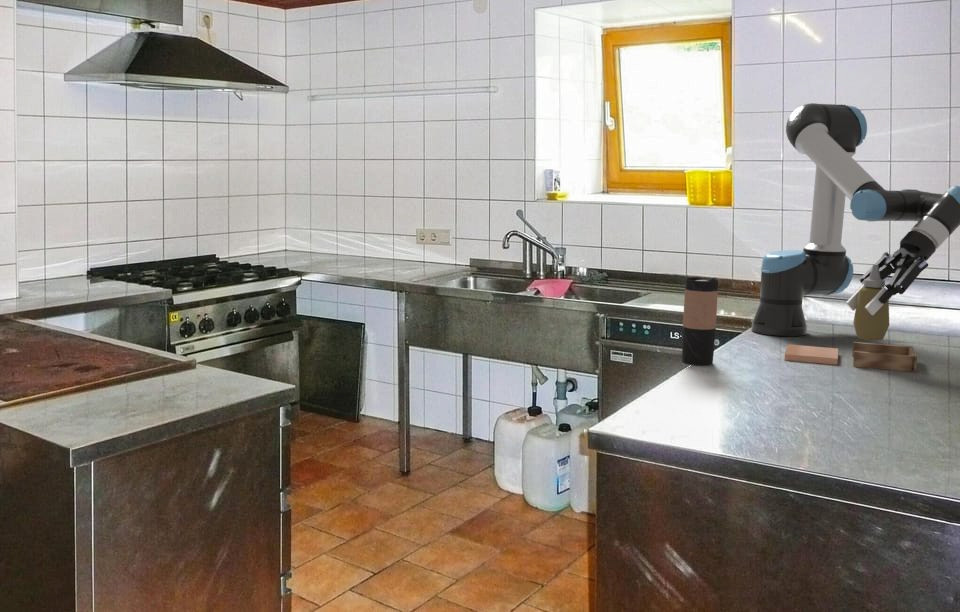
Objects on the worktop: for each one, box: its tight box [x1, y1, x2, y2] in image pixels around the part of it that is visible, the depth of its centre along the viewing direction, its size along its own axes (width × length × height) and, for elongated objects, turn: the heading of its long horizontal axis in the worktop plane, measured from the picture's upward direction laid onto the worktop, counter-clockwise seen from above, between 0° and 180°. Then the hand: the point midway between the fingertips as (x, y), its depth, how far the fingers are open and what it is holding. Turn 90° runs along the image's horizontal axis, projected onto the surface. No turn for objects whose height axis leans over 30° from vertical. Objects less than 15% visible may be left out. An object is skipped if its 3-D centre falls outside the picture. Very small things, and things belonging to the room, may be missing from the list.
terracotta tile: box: [784, 344, 839, 366], centre depth 223 cm, size 12×14×2 cm
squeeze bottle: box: [852, 263, 890, 342], centre depth 216 cm, size 8×8×18 cm
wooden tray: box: [852, 341, 918, 373], centre depth 217 cm, size 14×14×4 cm
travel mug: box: [681, 277, 719, 367], centre depth 212 cm, size 8×8×20 cm
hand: (859, 308), depth 215 cm, fingers closed on squeeze bottle, 6 cm apart
